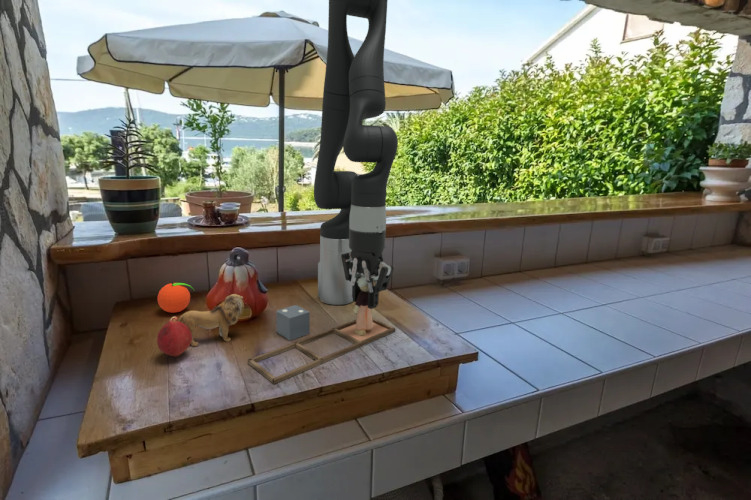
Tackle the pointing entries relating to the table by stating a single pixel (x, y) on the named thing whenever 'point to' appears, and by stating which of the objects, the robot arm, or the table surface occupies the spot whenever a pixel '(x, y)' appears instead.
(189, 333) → the red oval fruit
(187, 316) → the lion figurine
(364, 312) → the grandmother figurine
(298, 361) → the table surface
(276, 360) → the table surface
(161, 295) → the clementine
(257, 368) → the board
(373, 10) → the robot arm
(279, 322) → the die
